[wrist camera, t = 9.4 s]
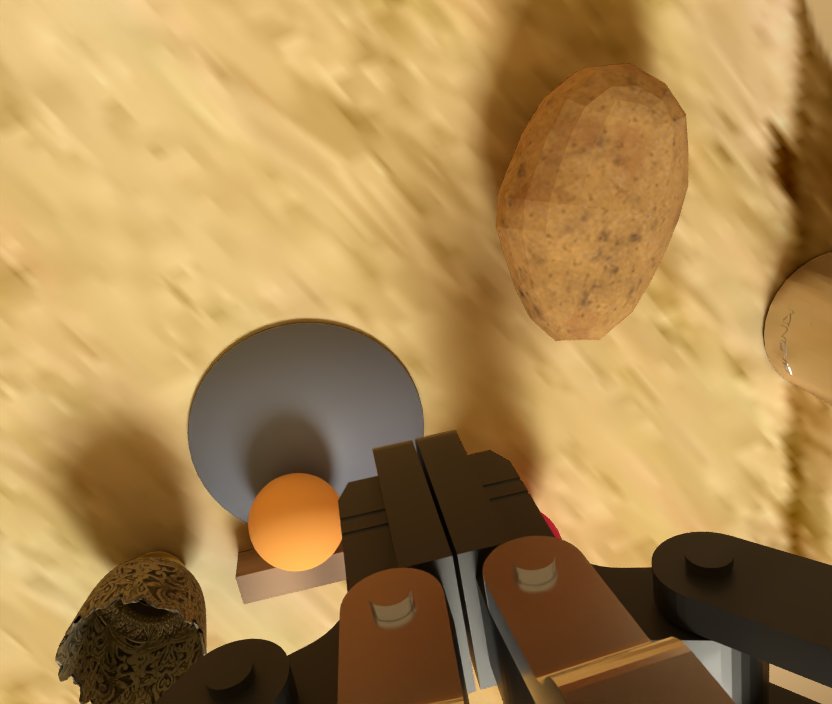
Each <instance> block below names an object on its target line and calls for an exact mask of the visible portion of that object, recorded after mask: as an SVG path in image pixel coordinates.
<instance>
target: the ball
mask: <svg viewBox="0 0 832 704" xmlns="http://www.w3.org/2000/svg"><path fill="white" fill-rule="evenodd" d="M339 498H340V497H339V495H338V494H337V492H336V491H335V490H334V489H333V487H332V486H331V485H330V484H328V483H327V482H326V481H324V480H323V479H321V478H319V477H317V476H314V475H311V474H306V473H291V474H286V475H283V476H280V477H278V478H276V479H274V480H272V481H271V482H270V483H268V484H267V485H266V486H265V487H264V488H263V489H262V490H261V491H260V492H259V493H258V495H257V496H256V498H255V500H254V501H253V504H252V506H251V509H250V513H249V519H248V529H249V535H250V539H251V542H252V544H253V546H254V548H255V550H256V551H257V553H258V554H259V555H260V556H261V557H262V558H263V559H264V560H265V561H266V562H267V563H269V564H271V565H272V566H274V567H276V568H279V569H282V570H286V571H304V570H308V569H312V568H314V567H316V566H318V565H320V564H322V563H323V562H325V561H326V560H327V559H328V558H329V557H330V556H331V555H332V554H333V553H334V552H335V550H336V549H337V547H338V546H339V544H340V542H341V540H342V534H341V525H340V515H339V506H338V500H339Z"/></svg>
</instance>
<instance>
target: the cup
mask: <svg viewBox="0 0 832 704" xmlns="http://www.w3.org/2000/svg"><path fill="white" fill-rule="evenodd" d="M206 654H207V653H206V608H205V601H204V596H203V593H202V590H201V587H200V585H199V583H198V582H197V580H196V579H195V577H194V576H193V575H192V574H191V572H189V571H188V570H187V569H186V568H185V567H184V565H183V563H182V562H181V561H180V560H179V559H178V558H177V557H176V556H174V555H172V554H170V553H167V552H161V551H155V552H149V553H146V554H144V555H142V556H140V557H138V558H137V559H133V560H130V561H127V562H125V563H123V564H121V565H119V566H118V567H116V568H114V569H113V570H112V571H110V572H109V573H108V574H107V575H106V576H105V577H104V578H103V579H102V580H101V581H100V582H99V583H98V584H97V586H96V587H95V588H94V589H93V591H92V592H91V594H90V595H89V597H88V598H87V600H86V601H85V603H84V604H83V606H82V608H81V609H80V611H79V612H78V614H77V616H76V617H75V619H74V620H73V622H72V624H71V625H70V627H69V628H68V630H67V631H66V633H65V636H64V638H63V640H62V641H61V643H60V645H59V648H58V651H57V654H56V662H57V663H58V665H59V666H60V669H59V672H58V676H59V680H60V681H61V682H62V681H65V680H67V679H68V678H69V677H70V676H72V678H73V683H74V684H76V685H78V686H79V687H80V692H81V693H80V698H79V702H80V703H81V704H86V703H88V702H90V701H91V703H92V704H154V703H155V702H156V701H157V700H158V699H159V698H160V697H161V696H162V695H163V694H164V693H165V692H166V691H167V690H168V689H169V688H170V687H171V686H172V685H173V684H174V683H175V682H176V681H177V680H178V679H179V678H180V677H181V676H182V675H183V674H184V673H185V672H186V671H187V670H188V669H189V668H190V667H191V666H192V665H193V664H194V663H195V662H197V661H198V660H199V659H200V658H202V657H203V656H204V655H206Z"/></svg>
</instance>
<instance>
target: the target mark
mask: <svg viewBox="0 0 832 704" xmlns="http://www.w3.org/2000/svg"><path fill="white" fill-rule="evenodd" d="M421 437H424V419H423V410H422V406H421V402H420V398H419V395H418V393H417V390H416V388H415V385H414V383H413V381H412V380H411V378H410V376H409V375H408V373H407V371H406V370H405V369H404V367H403V366H402V365H401V364H400V362H399V361H398V360H397V359H396V358H395V357H394V356H393V355H392V354H391V353H390V352H389V351H388V350H387V349H385V348H384V347H383V346H381V345H380V344H378V343H377V342H376V341H374V340H372V339H370V338H369V337H367V336H365V335H363V334H361V333H358V332H356V331H353V330H350V329H348V328H344V327H340V326H336V325H332V324H324V323H294V324H287V325H281V326H278V327H274V328H270V329H267V330H264V331H262V332H259V333H257V334H255V335H252V336H250V337H249V338H247V339H245V340H243V341H242V342H240V343H238V344H237V345H235V346H234V347H233V348H232V349H230V350H229V351H228V352H226V353H225V354H224V355H223V356H222V357H221V358H220V359H219V360H218V361H217V362H216V363H215V364H214V365H213V367H212V368H211V369H210V371H209V372H208V373H207V375H206V376H205V378H204V379H203V381H202V383H201V385H200V386H199V388H198V390H197V393H196V396H195V398H194V401H193V403H192V407H191V412H190V416H189V426H188V440H189V449H190V453H191V458H192V462H193V464H194V467H195V469H196V472H197V474H198V476H199V478H200V479H201V481H202V483H203V485H204V486H205V488H206V489H207V490H208V492H209V493H210V494H211V496H212V497H213V498H214V499H215V500H216V501H217V502H218V503H219V504H220V505H221V506H222V507H223V508H224V509H226V510H227V511H228V512H230V513H231V514H232V515H234V516H235V517H237V518H239V519H240V520H242V521H244V522H246V523H247V524H248V519H249V513H250V509H251V506H252V504H253V501H254V500H255V498H256V496H257V495H258V493H259V492H260V491H261V490H262V489H263V488H264V487H265V486H266V485H267V484H268V483H270V482H271V481H272V480H274V479H276V478H278V477H280V476H283V475H286V474H291V473H306V474H311V475H314V476H317V477H319V478H321V479H323V480H324V481H326V482H327V483H328V484H330V485H331V486H332V487H333V489H334V490H335V491H336V492H337V494H338V495H339V497H340V496H341V494H342V493H343V491H344V489H345V487H346V485H347V484H348V482H352V481H356V480H361V479H365V478H370V477H374V476H378V474H377V470H376V465H375V460H374V455H373V450H372V448H377V447H381V446H386V445H390V444H395V443H399V442H403V441H408V440H412V441H413V444H414V447H415V449H416V445H415V439H416V438H421Z"/></svg>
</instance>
